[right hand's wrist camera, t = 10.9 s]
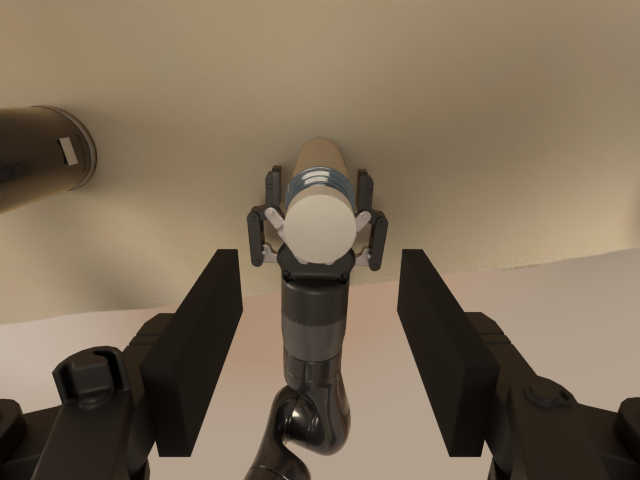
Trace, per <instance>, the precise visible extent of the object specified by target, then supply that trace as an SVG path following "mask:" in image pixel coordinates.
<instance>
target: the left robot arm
mask: <svg viewBox="0 0 640 480" xmlns="http://www.w3.org/2000/svg"><path fill="white" fill-rule="evenodd" d="M95 164H96V153H95V148H94V144H93V142H92V139H91V137H90V135H89V134H88V132H87V131H86V129H85V128H84V127H83V126H82V124H81V123H80V122H79V121H78V120H76V119H75V118H74V117H73V116H71V115H70V114H68V113H66V112H65V111H63V110H60V109H58V108H54V107H50V106H32V107H24V108H0V215H1V214H4V213H7V212H9V211H12V210H15V209H17V208H20V207H23V206H26V205H28V204H31V203H34V202H36V201H39V200H42V199H45V198H47V197H50V196H53V195H56V194H58V193H61V192H64V191H68V190H72V189H75V188H77V187H79V186H81V185H83V184H84V183H86V182H87V181H88V180H89V178H90V177H91V175H92V174H93V171H94V169H95ZM265 181H266V204H264V205H262V206H255V207H253V208H252V209H251V212H250V213H249V214H248V216H247V223H248V233H249V243H250V253H251V262H252V264H253V265H254V266H256V267H259V266H261V265H262V263H269V262H278V264H279V265H280V268H281V271H282V310H281V313H282V334H283V341H284V377H285V380H286V382H287V384H288V385H286V386H285V387H283V388H282V389H281V390H280V391H279V392H278V393H277V395H276V396H275V398H274V400H273V403H272V406H271V410H270V414H269V418H268V423H267V426H266V430H265V433H264V436H263V439H262V442H261V444H260V447H259V450H258V453H257V455H256V458H255V460H254V462H253V464H252V465H251V467H250V469H249V471H248V472H247V474H246V476H245V478H244V479H243V480H311V475H310V472H309V469H308V468H307V466H306V465H305V464H304V463H303V461H302V460H301V459H299V458H298V457H297V456H296V455H295V454H294V453H292V452H291V451H290V450H289V449H288V448H286V447H285V445H286V443H287V442H291V443H293V444H296V445H298V446H300V447H303V448H305V449H307V450H310V451H312V452H315V453H317V454H320V455H323V456H330V455H334V454H336V453H337V452H339V451H340V450H341V449H342V448H343V446H344V445H345V443H346V441H347V439H348V436H349V432H350V424H351V416H350V408H349V403H348V399H347V395H346V392H345V388H344V384H343V380H342V375H341V355H342V344H343V339H344V335H345V330H346V318H347V306H348V292H349V279H350V272H351V270H352V268H353V267H354V265H359V266H369V267H370V269H371V270H372V271H377V270H379V269H380V267H381V261H382V256H383V250H384V245H385V239H386V233H387V228H388V221H387V219H386V217H385V215H384V213H383V212H381V211H376V210H374V209H372V208H371V204H372V193H373V181H372V178H371V176H368V175H367V171H366V170H364V169H359V170H358V181H357V194H356V206H357V209H356V210H355V211H354V212H353V214H354V217H355V220H356V227H357V231H356V237H357V235H358V233H359V231H360V230H361V229H362V228H363V227H364V226H365V225H366V224H367V223H370V224H372V226H371V233H370V239H369V245H367V246H364V247H363V248H362V250H361V252H360V253H358V254H355V253H354V251H353V250H352V248H350V249H349V251H348V252H347V253H346V254H344V255H343V256H342V257H340V258H339V259H337V260H335V261H332V262H328V263H312V262H308V261H305V260H303V259H301V258H300V257H298V256H297V255H296V254H294V253H293V252H292V251H291V249H290V248H289V246H288V245H287V243H286V240H285V237H284V231H283V227H284V221H285V217H286V213H285V212H284V211H283V209H282V208H281V207H280V203H281V166H274V167H273V168H272V171H269V172H268V174H267V176H266V179H265ZM266 219H268V220H269V221H270V222H271V224H272V225H273V226H274V227H275V229H276V230H277V233H278V235H279V236H280V237H281V239H282V240H283V241H284V244H283V245H282V246H281V247H280V249H279V250H278V251H274V250H273V249H272V246H271V244H270V243H269V242H265V236H264V224H263V220H266ZM356 237H355V238H356Z"/></svg>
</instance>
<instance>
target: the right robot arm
mask: <svg viewBox="0 0 640 480" xmlns="http://www.w3.org/2000/svg"><path fill="white" fill-rule="evenodd" d="M242 312H243V305H242V294H241V283H240V271H239V260H238V249H218V250H217V251H216V253H215V254H214V256H213V257H212V259H211V260H210V262H209V263H208V265H207V266H206V268H205V269H204V271H203V272H202V274H201V275H200V277H199V278H198V280H197V281H196V283H195V284H194V285H193V287H192V288H191V290H190V291H189V293H188V294H187V296H186V297H185V299H184V300H183V302H182V303H181V305H180V307H179V308H178V309H177V311H176V312H175V313H159V314H157V315H156V316H154V317H153V318H151V319H150V320H148V321H147V322H146V323H144V325H143V326H142V327H141V329H140V330H139V331H138V333H137V334H136V336H135V337H134V338H133V339H132V340H131V342H130V343H129V346H127V347H126V348H125V349H124V351H123V352H121V351H120V350H119V349H118V348H116V347H111V346H99V347H93V348H89V349H85V350H82V351H80V352H78V353H75V354H73V355H71V356H69V357H68V358H66V359H65V360H64V361H62V362H61V363H59V364H58V365H57V367H56V368H55V369H54V371H53V372H52V374H53V377H54V380H55V383H56V386H57V389H58V392H59V395H60V399H61V401H62V405H60V406H56V407H52V408H48V409H43V410H39V411H35V412H30V413H26V414H23V413H22V410H21V407H20V405H19V404H18V403H17V402H16V401H14V400H11V399H0V480H149V477H150V468H149V462H148V458H147V457H148V455H149V453H150V451H151V449H152V447H153V444H154V442H155V440H156V445H157V449H158V454H159V457H190V456H191V454H192V451H193V448H194V445H195V442H196V440H197V437H198V434H199V431H200V429H201V426H202V423H203V420H204V418H205V415H206V412H207V409H208V406H209V404H210V401H211V398H212V395H213V393H214V390H215V387H216V384H217V381H218V379H219V376H220V373H221V370H222V368H223V365H224V362H225V359H226V356H227V354H228V351H229V348H230V345H231V343H232V340H233V337H234V334H235V331H236V329H237V326H238V323H239V320H240V317H241V315H242ZM397 312H398V315H399V318H400V320H401V323H402V326H403V329H404V331H405V334H406V337H407V340H408V343H409V345H410V348H411V351H412V353H413V356H414V359H415V362H416V365H417V367H418V370H419V373H420V376H421V379H422V381H423V384H424V387H425V390H426V392H427V395H428V398H429V401H430V404H431V406H432V409H433V412H434V415H435V418H436V420H437V423H438V426H439V429H440V431H441V434H442V437H443V440H444V443H445V445H446V448H447V451H448V454H449V456H450V457H481V454H482V449H483V445H484V440H485V441H486V443H487V445H488V447H489V449H490V451H491V453H492V455H493V458H492V462H491V466H490V470H489V475H488V479H487V480H640V397H634V398H627V399H626V400H624V401H623V402H622V403H621V405H620V408H619V410H618V413H617V412H612V411H608V410H603V409H599V408H595V407H590V406H586V405H583V404H579V403H578V402H577V401H576V400H575V398H574V397H573V395H572V394H571V393H570V392H569V391H568V390H566V389H565V388H564V387H563V386H561V385H559V384H557V383H556V382H554V381H552V380H550V379H547V378H543V377H540V376H537V375H536V373H535V372H534V371H533V370H532V368H531V367H530V366H529V364H528V363H527V362H526V361H525V359H524V358H523V357H522V355H521V354H520V353H519V352H518V350H517V349H516V348H515V346H514V345H513V344H511V341H510V340H509V339H508V337H507V336H506V335H504V332H503V331H502V330H501V328H500V327H499V326H498V325H497V323H496V322H495V321H493V320H492V319H491V318H489V317H488V316H486V315H485V314H483V313H482V312H464V311H463V309H462V308H461V306H460V305H459V303H458V302H457V300H456V299H455V297H454V296H453V294H452V293H451V291H450V290H449V289H448V287H447V285H446V284H445V283H444V281H443V280H442V278H441V277H440V275H439V274H438V272H437V271H436V269H435V268H434V266H433V265H432V263H431V262H430V260H429V259H428V257H427V256H426V254H425V253H424V251H423V250H422V249H402V260H401V271H400V283H399V294H398V305H397Z"/></svg>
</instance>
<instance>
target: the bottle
mask: <svg viewBox="0 0 640 480" xmlns="http://www.w3.org/2000/svg"><path fill="white" fill-rule="evenodd" d="M312 186H328V187H331V188H334V189H336V190H338V191H339V192H341V193H342V194H343V195H344V196H345V197H346V198H347V199H348V201H349V202H350V205H351V207H352V210H354V206H355V194H354V190H353V187H352V184H351V181H350V179H349V176H348V173H347V170H346V168H345V165H344V162H343V159H342V156H341V154H340V151H339V149H338V147H337V146H336V144H335V143H334V142H332V141H331V140H329V139H326V138H321V137H319V138H314V139H311V140H309V141H308V142H306V143H305V144H304V146H303V147H302V149H301V151H300V154H299V156H298V159H297V162H296V165H295V168H294V170H293V173H292V176H291V179H290V181H289V184H288V187H287V190H286V194H285V207H286V210H288V207H289V205H290V202H291V201H292V199H293V198H294V197H295V196H296V195H297V194H298V193H299V192H301V191H302V190H304V189H306V188H309V187H312Z"/></svg>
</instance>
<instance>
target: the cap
mask: <svg viewBox="0 0 640 480" xmlns="http://www.w3.org/2000/svg"><path fill="white" fill-rule="evenodd" d="M283 231H284V237H285V240H286V243H287V245H288V246H289V248H290V249H291V251H292V252H293V253H294V254H296V255H297V256H298V257H300V258H301V259H303V260H305V261H308V262H312V263H328V262H332V261H335V260H337V259H339V258H340V257H342V256H343V255H344V254H346V253H347V252H348V251H349V249H350V248H351V246H352V245H353V243H354V240H355V237H356V231H357V227H356V220H355V217H354V214H353V210H352V207H351V205H350V202H349V201H348V199H347V198H346V197H345V196H344V195H343V194H342V193H341V192H339V191H338V190H336V189H334V188H331V187H328V186H312V187H309V188H306V189H304V190H302V191H301V192H299V193H298V194H297V195H296V196H295V197H294V198H293V199H292V201H291V202H290V205H289V207H288V210H287V214H286V217H285V221H284V227H283Z"/></svg>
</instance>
